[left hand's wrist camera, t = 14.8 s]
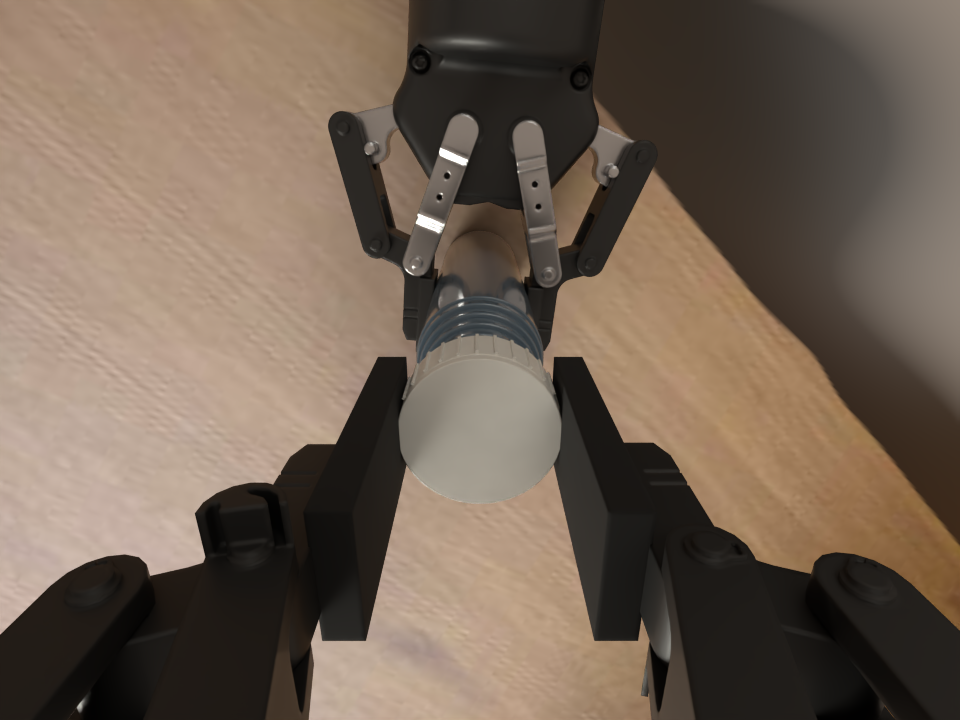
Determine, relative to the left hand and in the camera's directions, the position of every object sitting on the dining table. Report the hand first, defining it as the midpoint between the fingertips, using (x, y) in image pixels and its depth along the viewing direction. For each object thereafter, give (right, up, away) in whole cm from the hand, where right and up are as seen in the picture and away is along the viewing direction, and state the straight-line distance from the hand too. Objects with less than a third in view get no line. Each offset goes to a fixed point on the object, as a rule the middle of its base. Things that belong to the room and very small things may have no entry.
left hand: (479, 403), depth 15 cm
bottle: (0, +7, +17) cm, 18 cm away
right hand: (0, +2, +12) cm, 12 cm away
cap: (0, -1, -1) cm, 1 cm away
